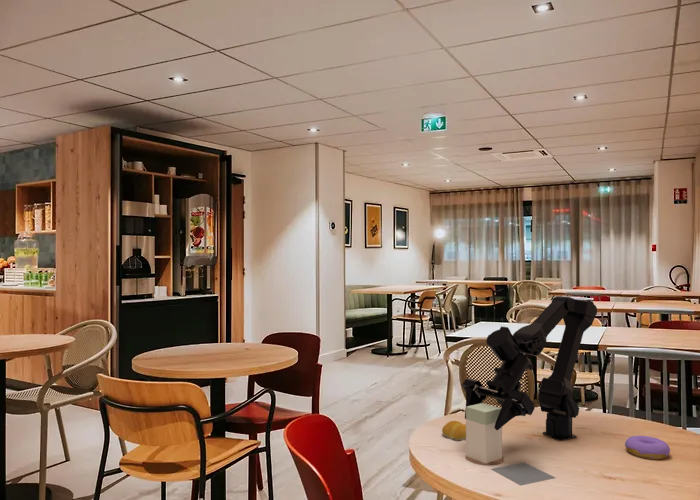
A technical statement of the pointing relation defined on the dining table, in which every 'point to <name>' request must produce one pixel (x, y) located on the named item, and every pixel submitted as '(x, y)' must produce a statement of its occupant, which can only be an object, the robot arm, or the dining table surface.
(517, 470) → the mat
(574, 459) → the dining table surface
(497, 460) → the disc
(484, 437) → the carton
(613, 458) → the dining table surface
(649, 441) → the donut
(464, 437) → the bread roll
